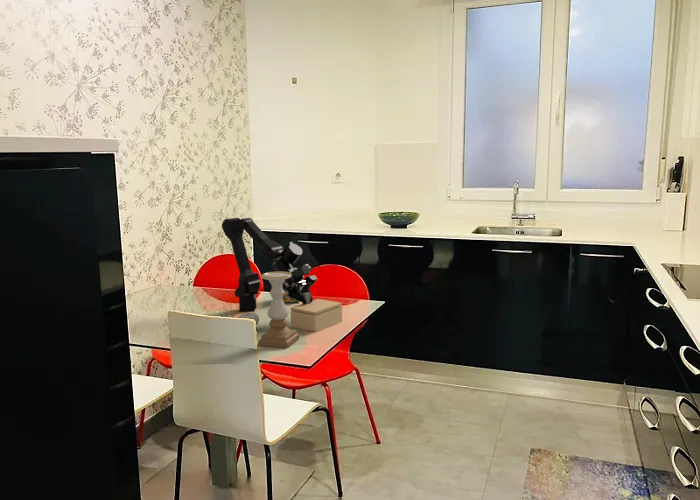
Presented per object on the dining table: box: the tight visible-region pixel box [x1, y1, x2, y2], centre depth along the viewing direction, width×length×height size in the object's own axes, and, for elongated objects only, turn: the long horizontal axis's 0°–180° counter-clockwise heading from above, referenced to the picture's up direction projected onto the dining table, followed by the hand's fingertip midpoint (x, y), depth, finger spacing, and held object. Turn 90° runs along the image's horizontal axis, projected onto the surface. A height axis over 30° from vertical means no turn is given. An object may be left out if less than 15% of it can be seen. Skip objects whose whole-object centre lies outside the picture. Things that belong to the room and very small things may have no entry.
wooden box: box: [290, 305, 343, 333], centre depth 217 cm, size 12×16×6 cm
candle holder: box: [257, 271, 300, 349], centre depth 194 cm, size 11×11×24 cm
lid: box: [290, 292, 343, 315], centre depth 216 cm, size 12×16×5 cm
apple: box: [237, 312, 260, 326], centre depth 210 cm, size 8×8×7 cm
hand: (309, 302), depth 218 cm, fingers closed on lid, 3 cm apart
